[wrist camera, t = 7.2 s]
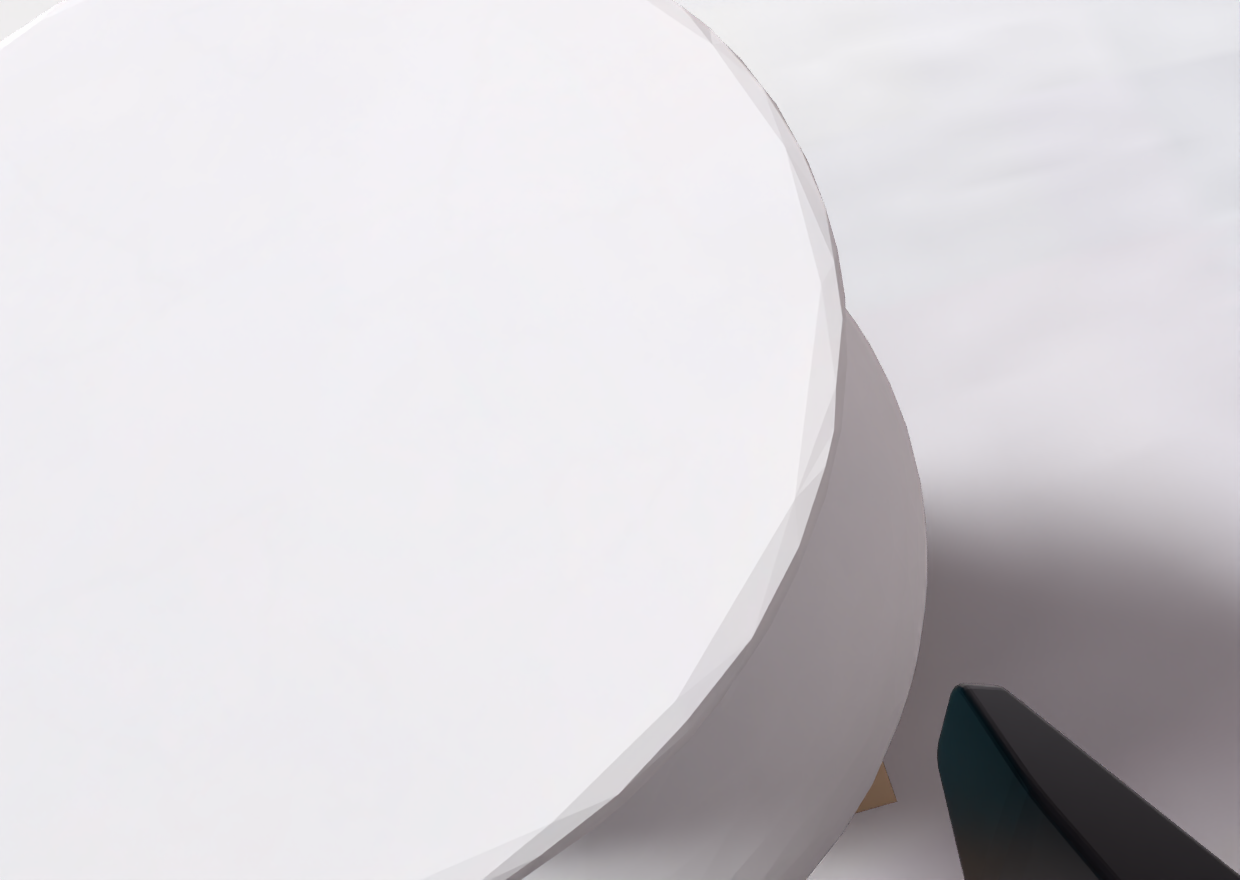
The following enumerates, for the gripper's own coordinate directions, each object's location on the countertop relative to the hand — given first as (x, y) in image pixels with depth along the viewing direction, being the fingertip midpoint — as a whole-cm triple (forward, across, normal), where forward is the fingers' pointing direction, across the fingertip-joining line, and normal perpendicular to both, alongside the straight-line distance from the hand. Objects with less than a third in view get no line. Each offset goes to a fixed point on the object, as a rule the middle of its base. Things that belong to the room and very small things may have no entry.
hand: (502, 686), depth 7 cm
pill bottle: (+7, 0, +5) cm, 9 cm away
